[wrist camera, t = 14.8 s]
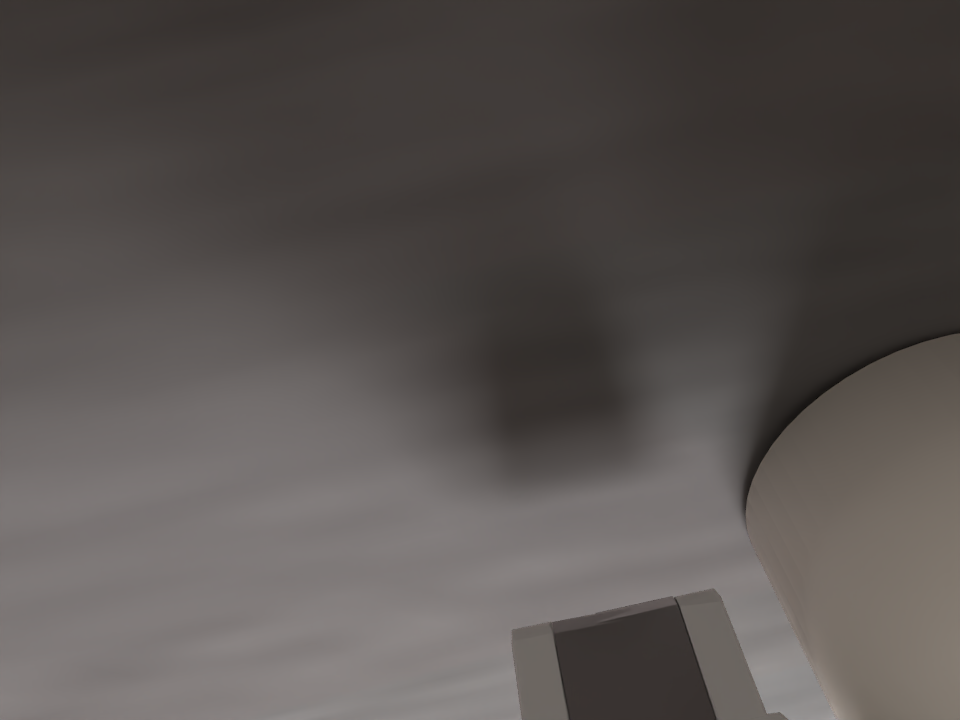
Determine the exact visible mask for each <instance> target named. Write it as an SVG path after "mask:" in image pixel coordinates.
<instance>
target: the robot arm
mask: <svg viewBox="0 0 960 720" xmlns="http://www.w3.org/2000/svg"><path fill="white" fill-rule="evenodd" d="M512 651H513V658H514V666H515V673H516V680H517V688H518V695H519V702H520V710H521V717H522V720H788V719H787V718H786V717H785V716H784V715H782V714H781V713H780V712H778V713H771V714H767V713H766V710H765V708H764V705H763V703H762V700H761V698H760V695H759V693H758V690H757V687H756V685H755V682H754V680H753V677H752V675H751V672H750V670H749V667H748V664H747V662H746V659H745V657H744V654H743V652H742V649H741V647H740V644H739V642H738V639H737V636H736V634H735V631H734V629H733V626H732V624H731V621H730V619H729V616H728V613H727V611H726V608H725V606H724V603H723V601H722V598H721V596H720V595H719V594H718V593H717V592H716V591H715V590H714V589H708V590H704V591H699V592H695V593H690V594H686V595H681V596H677V597H674V598H673V596H671V597H666V598H662V599H657V600H653V601H648V602H643V603H639V604H634V605H630V606H625V607H621V608H616V609H612V610H607V611H603V612H598V613H596V614H591V615H586V616H581V617H576V618H571V619H565V620H560V621H555V622H547V623H542V624H537V625H533V626H528V627H523V628H518V629H513V630H512Z"/></svg>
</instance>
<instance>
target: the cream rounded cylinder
mask: <svg viewBox="0 0 960 720" xmlns="http://www.w3.org/2000/svg"><path fill="white" fill-rule="evenodd" d="M746 526H747V531H748V535H749V538H750V541H751V544H752V546H753V548H754V550H755V552H756V554H757V556H758V558H759V560H760V562H761V564H762V566H763V569H764V571H765V573H766V575H767V577H768V579H769V581H770V583H771V585H772V587H773V589H774V591H775V593H776V595H777V597H778V600H779V602H780V604H781V606H782V608H783V610H784V612H785V614H786V616H787V618H788V620H789V622H790V624H791V626H792V628H793V631H794V633H795V635H796V637H797V639H798V641H799V643H800V645H801V647H802V649H803V651H804V653H805V655H806V657H807V660H808V662H809V664H810V666H811V668H812V670H813V672H814V674H815V676H816V678H817V680H818V682H819V684H820V686H821V688H822V691H823V693H824V695H825V697H826V699H827V701H828V703H829V705H830V707H831V709H832V711H833V713H834V715H835V717H836V719H837V720H960V333H958V334H952V335H947V336H944V337H940V338H936V339H932V340H929V341H925V342H922V343H919V344H916V345H913V346H911V347H908V348H905V349H902V350H900V351H897V352H895V353H893V354H890V355H888V356H886V357H884V358H882V359H880V360H877V361H875V362H873V363H871V364H869V365H867V366H866V367H864V368H862V369H860V370H859V371H857V372H855V373H853V374H852V375H850V376H848V377H846V378H845V379H844V380H842V381H841V382H839V383H838V384H836V385H835V386H833V387H832V388H831V389H829V390H828V391H826V392H825V393H823V394H822V395H821V396H820V397H819V398H817V399H816V400H815V401H814V402H813V403H811V404H810V405H809V406H808V407H807V408H805V409H804V410H803V411H802V412H801V413H800V414H799V415H798V416H797V417H796V418H795V419H794V420H793V421H792V422H791V423H790V424H789V425H788V426H787V427H786V428H785V430H784V431H783V432H782V433H781V435H780V436H779V437H778V438H777V440H776V441H775V442H774V443H773V444H772V446H771V447H770V449H769V451H768V452H767V454H766V455H765V457H764V458H763V460H762V462H761V463H760V465H759V467H758V470H757V472H756V474H755V476H754V478H753V480H752V484H751V487H750V490H749V494H748V497H747V505H746Z"/></svg>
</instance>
